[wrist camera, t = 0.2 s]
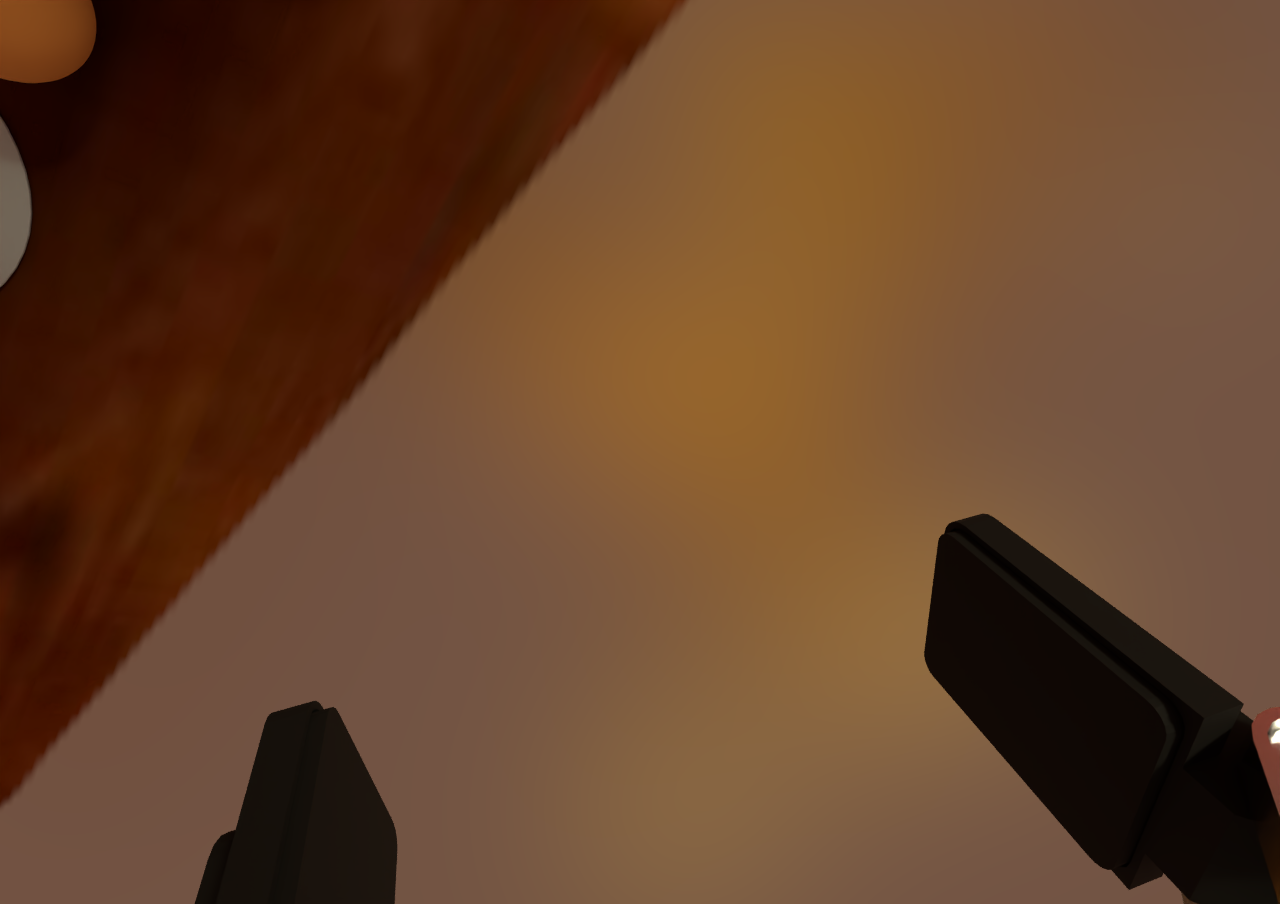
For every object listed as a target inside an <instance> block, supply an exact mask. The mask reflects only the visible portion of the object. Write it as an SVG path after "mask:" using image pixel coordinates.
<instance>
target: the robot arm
mask: <svg viewBox="0 0 1280 904" xmlns="http://www.w3.org/2000/svg"><path fill="white" fill-rule="evenodd" d="M934 572H935V573H934V579H933V587H932V595H931V604H930V612H929V619H928V627H927V635H926V643H925V651H924V657H925V661H926V664H927V667H928V669H929V671H930V673H931V674H932V675H933V677H934V678H935V679H936V680H937V681H938V682H939V684H940V685H941V686H942V687H943V688H944V689H945V691H946V692H947V693H948V694H949V695H950V696H951V697H952V699H953V700H954V701H955V702H956V703H957V704H958V706H959V707H960V708H961V709H962V710H963V711H964V712H965V714H966V715H967V716H968V717H969V718H970V719H971V721H972V722H973V723H974V724H975V725H976V726H977V728H978V729H979V730H980V731H981V732H982V733H983V734H984V736H985V737H986V738H987V739H988V740H989V741H990V743H991V744H992V745H993V746H994V747H995V748H996V750H997V751H998V752H999V753H1000V754H1001V755H1002V756H1003V757H1004V759H1005V760H1006V761H1007V762H1008V763H1009V764H1010V766H1011V767H1012V768H1013V769H1014V770H1015V771H1016V773H1017V774H1018V775H1019V776H1020V777H1021V778H1022V779H1023V781H1024V782H1025V783H1026V784H1027V785H1028V786H1029V787H1030V789H1031V790H1032V791H1033V792H1034V793H1035V795H1036V796H1037V797H1038V798H1039V799H1040V800H1041V802H1042V803H1043V804H1044V805H1045V806H1046V807H1047V808H1048V809H1049V811H1050V812H1051V813H1052V814H1053V815H1054V816H1055V818H1056V819H1057V820H1058V821H1059V822H1060V824H1061V825H1062V826H1063V827H1064V828H1065V829H1066V830H1067V832H1068V833H1069V834H1070V835H1071V836H1072V837H1073V839H1074V840H1075V841H1076V842H1077V843H1078V844H1079V845H1080V847H1081V848H1082V849H1083V850H1084V851H1085V852H1086V853H1087V855H1088V856H1089V857H1090V858H1091V859H1092V860H1093V861H1094V862H1095V863H1096V864H1098V865H1099V866H1100V867H1102V868H1104V869H1107V870H1112V871H1113V872H1114V873H1115V875H1116V876H1117V877H1118V878H1119V879H1120V880H1121V881H1122V882H1123V884H1124V885H1125V886H1126V887H1127V888H1128V889H1129V890H1130V889H1132V888H1135V887H1137V886H1140V885H1142V884H1144V883H1147V882H1149V881H1152V880H1154V879H1157V878H1159V877H1162V875H1163V873H1164V874H1165V875H1166V876H1167V877H1168V878H1169V879H1170V880H1171V881H1172V882H1173V883H1174V884H1175V886H1176V887H1177V888H1179V890H1180V891H1181V893H1182V898H1183V903H1184V904H1280V707H1272V708H1269V709H1267V710H1265V711H1263V712H1261V713H1259V714H1257V716H1256V718H1255V719H1254V721H1253V720H1251V719H1250V718H1249V717H1247V716H1246V715H1245V714H1243V713H1242V712H1241V709H1242V707H1243V703H1242V702H1241V701H1239V700H1238V699H1237V698H1235V697H1234V696H1233V695H1231V694H1230V693H1229V692H1227V691H1226V690H1225V689H1223V688H1222V687H1221V686H1219V685H1218V684H1217V683H1215V682H1214V681H1213V680H1211V679H1210V678H1208V677H1207V676H1206V675H1204V674H1203V673H1202V672H1200V671H1199V670H1198V669H1196V668H1195V667H1194V666H1192V665H1191V664H1190V663H1188V662H1187V661H1186V660H1184V659H1183V658H1182V657H1180V656H1179V655H1177V654H1176V653H1175V652H1174V651H1172V650H1171V649H1170V648H1168V647H1167V646H1166V645H1164V644H1163V643H1161V642H1160V641H1159V640H1158V639H1156V638H1155V637H1154V636H1152V635H1151V634H1149V633H1148V632H1147V631H1145V630H1144V629H1143V628H1141V627H1140V626H1139V625H1137V624H1136V623H1134V622H1133V621H1132V620H1131V619H1129V618H1128V617H1126V616H1125V615H1124V614H1122V613H1121V612H1120V611H1119V610H1117V609H1116V608H1115V607H1113V606H1112V605H1111V604H1109V603H1108V602H1107V601H1105V600H1104V599H1103V598H1101V597H1100V596H1098V595H1097V594H1096V593H1094V592H1093V591H1092V590H1090V589H1089V588H1088V587H1086V586H1085V585H1084V584H1082V583H1081V582H1080V581H1078V580H1077V579H1076V578H1074V577H1073V576H1072V575H1070V574H1069V573H1068V572H1066V571H1065V570H1064V569H1062V568H1061V567H1060V566H1058V565H1057V564H1056V563H1054V562H1053V561H1052V560H1050V559H1049V558H1048V557H1046V556H1045V555H1044V554H1042V553H1040V552H1039V551H1038V550H1037V549H1036V548H1034V547H1033V546H1031V545H1030V544H1029V543H1028V542H1026V541H1025V540H1023V539H1022V538H1021V537H1019V536H1018V535H1017V534H1015V533H1014V532H1013V531H1011V530H1010V529H1009V528H1007V527H1006V526H1005V525H1003V524H1002V523H1001V522H999V521H998V520H997V519H995V518H994V517H992V516H990V515H988V514H980V515H976V516H972V517H969V518H966V519H962V520H958V521H955V522H952V523H949V524H948V526H947V527H946V530H945V533H944V534H943V535H941V536H940V538H939V541H938V547H937V555H936V563H935V571H934ZM396 864H397V837H396V830H395V827H394V823H393V821H392V819H391V817H390V815H389V813H388V811H387V809H386V807H385V805H384V803H383V801H382V799H381V797H380V795H379V793H378V791H377V789H376V787H375V785H374V783H373V781H372V779H371V777H370V775H369V773H368V771H367V769H366V767H365V765H364V763H363V761H362V759H361V757H360V755H359V753H358V751H357V749H356V747H355V745H354V743H353V741H352V739H351V737H350V735H349V733H348V731H347V729H346V727H345V725H344V723H343V721H342V719H341V717H340V715H339V713H338V711H337V710H336V708H334V707H332V708H328V709H323V707H322V706H321V704H320V703H319V702H317V701H312V702H309V703H305V704H302V705H298V706H295V707H291V708H287V709H284V710H280V711H277V712H273V713H271V714H270V715H269V716H268V717H267V720H266V722H265V725H264V729H263V732H262V736H261V740H260V743H259V747H258V751H257V754H256V758H255V762H254V765H253V769H252V772H251V776H250V780H249V783H248V787H247V791H246V794H245V798H244V802H243V805H242V809H241V812H240V816H239V820H238V823H237V827H236V830H234V831H230V832H228V833H226V834H224V835H222V836H220V838H219V839H218V840H217V842H216V843H215V844H214V846H213V849H212V851H211V853H210V856H209V859H208V861H207V865H206V868H205V871H204V875H203V878H202V881H201V885H200V888H199V891H198V895H197V898H196V901H195V904H394V903H395V884H396Z"/></svg>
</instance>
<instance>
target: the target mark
mask: <svg viewBox="0 0 1280 904" xmlns="http://www.w3.org/2000/svg"><path fill="white" fill-rule="evenodd" d="M31 223H32V200H31V190H30V186H29V181H28V176H27V172H26V169H25V166H24V163H23V160H22V158H21V155H20V152H19V149H18V147H17V145H16V143H15V141H14V139H13V137H12V135H11V133H10V131H9V129H8V127H7V125H6V124H5V122H4V120H3V119H2V117H1V116H0V287H1V286H2V285H4V284H5V283H6V282H7V280H8V279H9V278H10V276H11V275H12V274H13V272H14V271H15V270H16V269H17V267H18V265H19V263H20V261H21V259H22V257H23V255H24V253H25V251H26V247H27V244H28V240H29V237H30V233H31Z"/></svg>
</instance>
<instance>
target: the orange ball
mask: <svg viewBox="0 0 1280 904" xmlns="http://www.w3.org/2000/svg"><path fill="white" fill-rule="evenodd" d="M95 38H96V18H95V12H94V8H93V5H92V1H91V0H0V78H2V79H5V80H10V81H16V82H22V83H43V82H51V81H55V80H59V79H61V78H64V77H66V76H68V75H70V74H72V73H73V72H75V71H76V70H78V69H79V68H80V67H81V66H82V65H83V64H84V63H85V62H86V60H87V59H88V58H89V56H90V54H91V52H92V50H93V46H94V43H95Z"/></svg>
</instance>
